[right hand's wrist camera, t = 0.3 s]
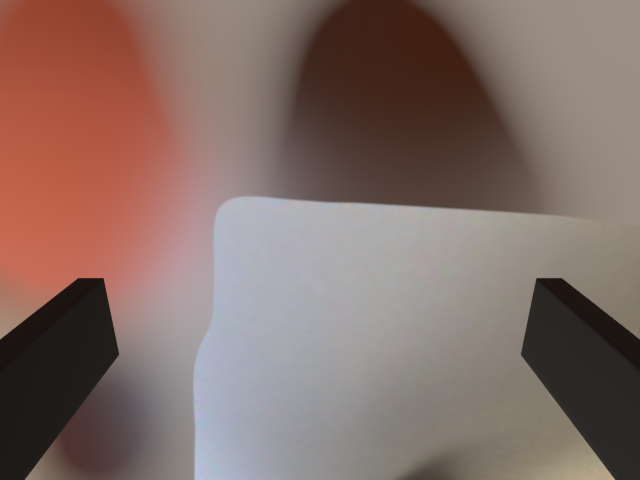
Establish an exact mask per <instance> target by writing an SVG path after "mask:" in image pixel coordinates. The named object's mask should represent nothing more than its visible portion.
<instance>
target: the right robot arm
mask: <svg viewBox="0 0 640 480" xmlns="http://www.w3.org/2000/svg"><path fill="white" fill-rule="evenodd" d="M118 355H119V352H118V347H117V342H116V337H115V332H114V327H113V322H112V317H111V312H110V308H109V303H108V298H107V293H106V288H105V283H104V279H103V278H78V279H77V280H75V281H74V282H73V283H72V284H70V285H69V286H68V287H66V288H65V289H64V290H63V291H61V292H60V293H59V294H58V295H56V296H55V297H54V298H52V299H51V300H50V301H49V302H47V303H46V304H45V305H44V306H42V307H41V308H40V309H38V310H37V311H36V312H35V313H33V314H32V315H31V316H30V317H28V318H27V319H26V320H25V321H23V322H22V323H21V324H19V325H18V326H17V327H16V328H14V329H13V330H12V331H11V332H9V333H8V334H7V335H5V336H4V337H3V338H2V339H0V480H25V479H26V477H27V476H28V475H29V473H30V472H31V471H32V469H33V468H34V467H35V465H36V464H37V463H38V461H39V460H40V459H41V457H42V456H43V455H44V453H45V452H46V451H47V449H48V448H49V447H50V446H51V444H52V443H53V442H54V440H55V439H56V438H57V436H58V435H59V434H60V432H61V431H62V430H63V428H64V427H65V426H66V424H67V423H68V422H69V420H70V419H71V418H72V416H73V415H74V414H75V412H76V411H77V410H78V408H79V407H80V406H81V404H82V403H83V402H84V400H85V399H86V398H87V396H88V395H89V394H90V392H91V391H92V390H93V389H94V387H95V386H96V384H97V383H98V382H99V381H100V379H101V378H102V377H103V375H104V374H105V373H106V371H107V370H108V369H109V367H110V366H111V365H112V363H113V362H114V361H115V359H116V358H117V357H118ZM521 355H522V357H523V358H524V359H525V361H526V362H527V363H528V365H529V366H530V367H531V369H532V370H533V371H534V373H535V374H536V375H537V377H538V378H539V379H540V381H541V382H542V383H543V385H544V386H545V387H546V389H547V390H548V391H549V393H550V394H551V395H552V397H553V398H554V399H555V400H556V402H557V403H558V404H559V406H560V407H561V408H562V410H563V411H564V412H565V414H566V415H567V416H568V418H569V419H570V420H571V422H572V423H573V424H574V426H575V427H576V428H577V430H578V431H579V432H580V434H581V435H582V436H583V438H584V439H585V440H586V442H587V443H588V444H589V446H590V447H591V448H592V449H593V451H594V452H595V453H596V455H597V456H598V457H599V459H600V460H601V461H602V463H603V464H604V465H605V467H606V468H607V469H608V471H609V472H610V473H611V475H612V476H613V477H614V479H615V480H640V339H638V338H637V337H636V336H635V335H633V334H632V333H631V332H630V331H628V330H627V329H626V328H624V327H623V326H622V325H621V324H619V323H618V322H617V321H616V320H614V319H613V318H612V317H610V316H609V315H608V314H607V313H605V312H604V311H603V310H602V309H600V308H599V307H598V306H596V305H595V304H594V303H593V302H591V301H590V300H589V299H588V298H586V297H585V296H584V295H582V294H581V293H580V292H579V291H577V290H576V289H575V288H574V287H572V286H571V285H570V284H568V283H567V282H566V281H565V280H563V279H562V278H536V283H535V288H534V293H533V298H532V303H531V308H530V312H529V317H528V322H527V327H526V332H525V337H524V342H523V347H522V352H521Z"/></svg>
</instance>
